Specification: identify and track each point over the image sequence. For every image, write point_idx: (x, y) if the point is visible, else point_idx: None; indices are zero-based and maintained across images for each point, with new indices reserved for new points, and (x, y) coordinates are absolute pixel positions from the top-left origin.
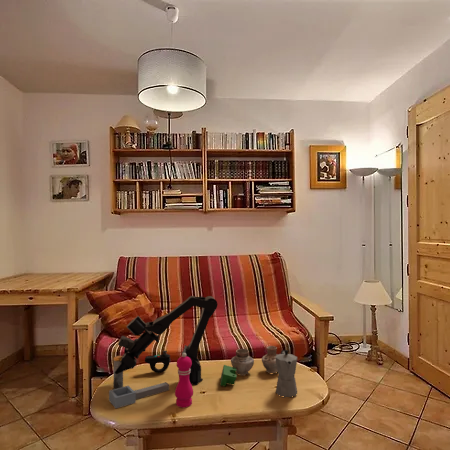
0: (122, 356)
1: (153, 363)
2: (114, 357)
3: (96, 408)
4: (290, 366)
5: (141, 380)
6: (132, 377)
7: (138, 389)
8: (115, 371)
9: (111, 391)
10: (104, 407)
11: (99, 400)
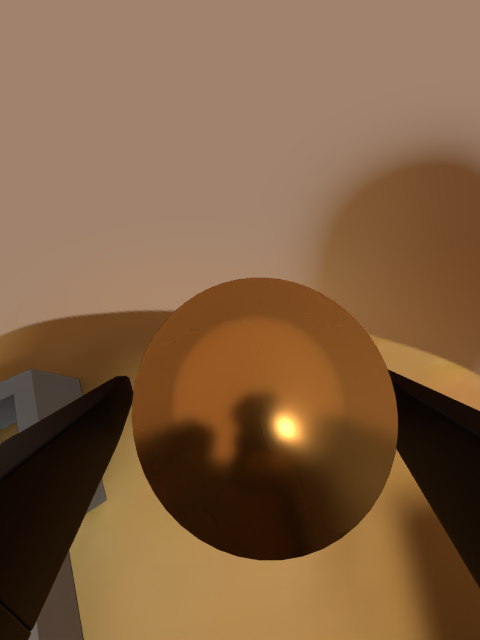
0: (338, 519)
1: None
2: (265, 291)
3: (17, 330)
4: None
5: (362, 600)
6: (417, 498)
7: (36, 637)
8: (101, 385)
9: (4, 388)
10: (7, 367)
11: (101, 328)
